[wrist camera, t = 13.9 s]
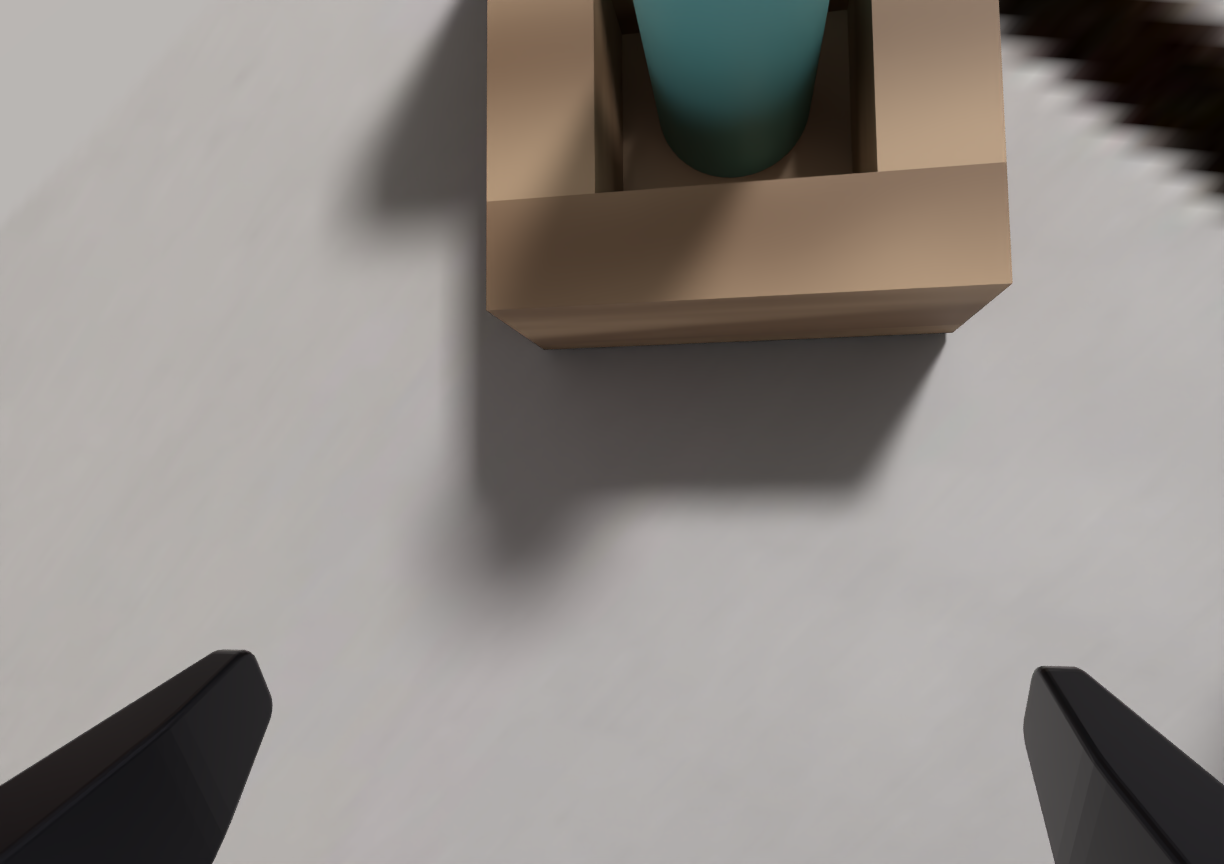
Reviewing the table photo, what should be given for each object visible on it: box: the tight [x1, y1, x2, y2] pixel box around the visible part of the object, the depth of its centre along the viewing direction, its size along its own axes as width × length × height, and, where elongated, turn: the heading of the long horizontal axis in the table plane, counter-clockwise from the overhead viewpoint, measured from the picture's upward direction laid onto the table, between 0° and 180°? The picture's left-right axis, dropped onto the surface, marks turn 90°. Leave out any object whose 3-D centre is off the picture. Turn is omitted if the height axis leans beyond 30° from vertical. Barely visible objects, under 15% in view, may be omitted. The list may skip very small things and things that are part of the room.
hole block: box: [486, 0, 1012, 350], centre depth 20 cm, size 11×11×5 cm
